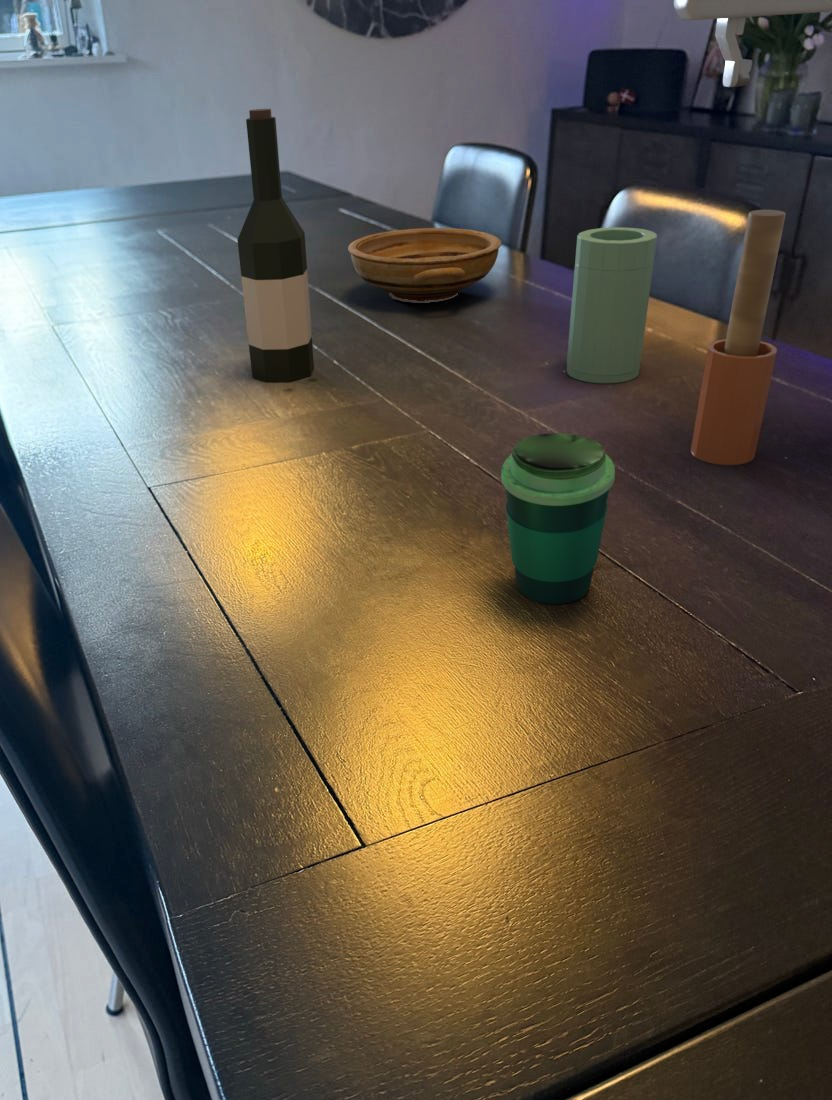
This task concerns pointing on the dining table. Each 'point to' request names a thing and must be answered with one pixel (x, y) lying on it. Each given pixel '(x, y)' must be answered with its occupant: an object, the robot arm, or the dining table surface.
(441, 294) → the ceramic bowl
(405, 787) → the dining table surface
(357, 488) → the dining table surface
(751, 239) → the wooden rod
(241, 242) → the wine bottle
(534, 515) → the cup
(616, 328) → the mint green tube
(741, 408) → the cup
